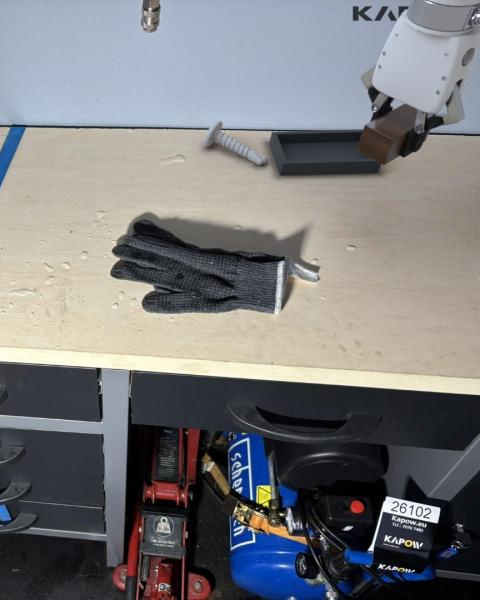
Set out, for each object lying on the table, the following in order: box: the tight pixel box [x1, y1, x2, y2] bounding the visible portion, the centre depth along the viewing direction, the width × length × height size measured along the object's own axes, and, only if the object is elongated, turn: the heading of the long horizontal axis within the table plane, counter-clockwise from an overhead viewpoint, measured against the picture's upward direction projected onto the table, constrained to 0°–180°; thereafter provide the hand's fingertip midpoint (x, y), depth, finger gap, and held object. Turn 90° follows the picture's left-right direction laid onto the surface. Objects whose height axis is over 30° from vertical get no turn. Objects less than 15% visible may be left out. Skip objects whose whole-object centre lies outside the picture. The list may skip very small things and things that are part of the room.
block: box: [357, 103, 431, 166], centre depth 82 cm, size 9×4×4 cm, turn 125°
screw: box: [204, 120, 266, 166], centre depth 108 cm, size 5×12×5 cm
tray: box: [269, 128, 382, 176], centre depth 106 cm, size 17×10×2 cm, turn 89°
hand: (391, 143), depth 83 cm, fingers closed on block, 4 cm apart
